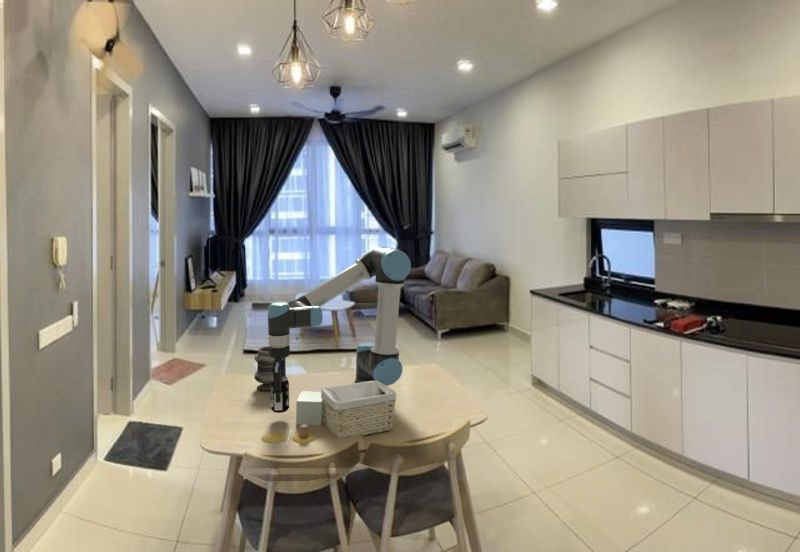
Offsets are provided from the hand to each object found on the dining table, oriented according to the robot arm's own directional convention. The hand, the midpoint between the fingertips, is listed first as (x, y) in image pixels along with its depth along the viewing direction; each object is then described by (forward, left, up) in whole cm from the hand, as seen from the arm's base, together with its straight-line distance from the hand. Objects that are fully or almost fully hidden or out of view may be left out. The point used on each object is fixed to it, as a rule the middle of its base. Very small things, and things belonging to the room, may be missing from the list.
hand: (280, 405), depth 181 cm
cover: (-16, 0, -1) cm, 16 cm away
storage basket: (-29, +5, -7) cm, 30 cm away
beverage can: (0, 0, -2) cm, 2 cm away
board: (-5, +15, -6) cm, 17 cm away
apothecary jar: (+11, -36, -6) cm, 38 cm away
